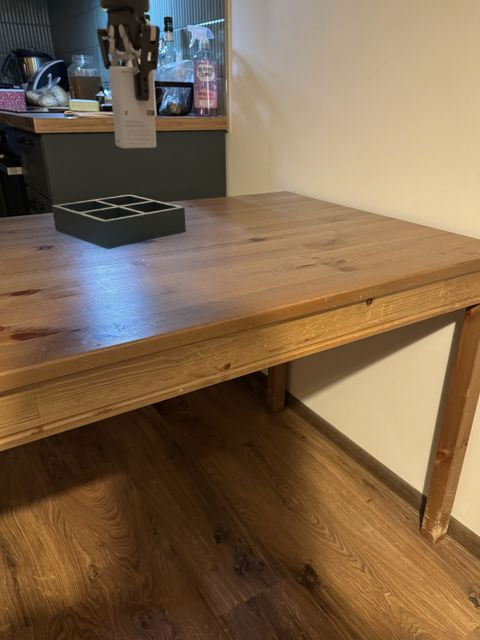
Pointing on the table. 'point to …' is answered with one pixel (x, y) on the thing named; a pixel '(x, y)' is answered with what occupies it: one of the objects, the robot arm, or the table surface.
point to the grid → (119, 220)
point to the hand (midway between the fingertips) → (132, 99)
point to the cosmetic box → (132, 110)
